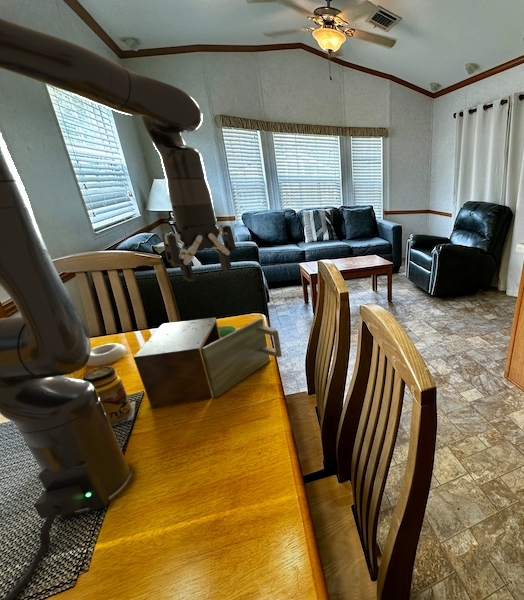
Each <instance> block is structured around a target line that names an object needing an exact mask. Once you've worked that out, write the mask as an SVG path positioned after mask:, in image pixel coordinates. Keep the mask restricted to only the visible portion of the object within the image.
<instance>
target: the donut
mask: <svg viewBox="0 0 524 600" xmlns="http://www.w3.org/2000/svg"><path fill="white" fill-rule="evenodd" d="M126 352H127V348H126V346H125V345H124V344H121V343H115V342H114V343H106V344H101V345H97V346H95V347H92V348H91V354H90V358H89V360H88V362H87V364H86V365H85V366H88V367H103V366H107V365H109V364H112V363H114V362H118V361H119V360H120V359H122V358H123V357H124V356H125V354H126Z"/></svg>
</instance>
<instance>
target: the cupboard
mask: <svg viewBox="0 0 524 600" xmlns="http://www.w3.org/2000/svg"><path fill="white" fill-rule="evenodd" d="M218 327H219V325H218V321H217V317H208V318H207V317H206V318H199V319H189V320H182V321H172V322H171V321H170V322H163V323H161V325H160V326H159V327H158V328H157V329H156V331H155V332H153V334H152V335H151V336H150V337H149V339H148V340H147V341H146V342H145V343H144V344H143V345H142V347H141V348H140V349H139V350H138V351H137V352H136V353H135V354H134V355H133V360H134V363H135V366H136V368H137V372H138V374H139V377H140V380H141V383H142V386H143V388H144V391H145V395H146V397H147V399H148V402H149V405H150V408H151V409H152V408H158V407H165V406H170V405H175V404H182V403H186V402H193V401H199V400H200V401H201V400H205V399H210V398H213V396H214V394H213V390H212V386H211V383H210V379H209V375H208V371H207V368H206V364H205V360H204V356H203V352H202V349H201V348H203V347H205V346H207V345H209V344H211V343H212V342H214V341H216V340H218V339H220V338H221V337H220V333H219V329H218Z"/></svg>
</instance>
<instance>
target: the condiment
mask: <svg viewBox="0 0 524 600" xmlns="http://www.w3.org/2000/svg"><path fill="white" fill-rule="evenodd" d="M82 380H85V381H88V382H90V383H91V384H92V385H93V386H94V387H95V389H96V391H97V393H98V396H99V398H100V401H101V403H102V405H103V408H104V410H105V413H106V415H107V417H108V420H109V422H110V424H111V427H113V426H116V425H119V424H122V423H125V422H127V421H128V422H129V421H132V420H133V419H134V416H135V412H136V411H135V410H136V401H137V400H135V401H130V399H129V396H128V394H127V391H126V389H125V386H124V384H123V380H122V378H121V376H119V375H118V373H117V372H116V368H114V367H113V366H108V365H104V366H98V367H96V368H94V369H91V370H89V371H88V372H86V373H85V374H83V377H82ZM126 419H127V420H126Z"/></svg>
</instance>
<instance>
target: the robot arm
mask: <svg viewBox="0 0 524 600" xmlns="http://www.w3.org/2000/svg"><path fill="white" fill-rule="evenodd" d="M0 69H2V70H5V71H7V72H11V73H13V74H17V75H20V76H23V77H25V78H29V79H31V80H34V81H37V82H40V83H43V84H45V85H48V86H50V87H53V88H56V89H59V90H61V91H64V92H66V93H69V94H71V95H75V96H76V97H79V98H82V99H84V100H86V101H89V102H92V103H94V104H97V105H100V106H101V107H105V108H106V109H109V110H113V111H115V112H118V113H121V114H125V115H130V116H140V118H141V120H142V123H143V126H144V128H145V130H146V132H147V134H148V136H149V138H150V140H151V142H152V144H153V146H154V147H155V150H157V152H158V155H159V156H160V159H161V164H162V168H163V172H164V176H165V179H166V180H165V181H166V188H167V194H168V198H169V202H170V207H171V210H172V213H173V217H174V221H175V225H176V226H177V229H178V230H177V233H163V234H162V237H161V238H162V242H163V247H164V252H165V257H166V261H167V262H168V263H169V264H175V265H178V266H179V268H180V272H181V276H182V278H183V280H186V281H187V282H190V283H191V282H195V280H196V279H195V275H194V270H193V266H192V264H191V260H192V259H193V256H195V255H196V253H197V252H201V251H204V250H206V249H207V250H210V249H213V250H215V252H217V253H218V258H219V263H220V267H221V270H222V271H224V272H230V271H231V268H232V262H231V258H230V254H231V253H232V252H236V250H237V246H236V243H235V239H234V234H233V230H232V227H231V225H227V224H220V225H219V226H217V217H216V216H217V215H216V212H215V208H214V202H213V198H212V193H211V189H210V186H209V183H208V181H207V175H206V170H205V166H204V162H203V157H202V155H201V153H200V151H199V150H198V149H196V148H194V147H191V146H188V145H187V144H186V142H185V140H184V138H183V136H182V133H183V134H184V133H191V132H194V131H196V130H198V129H199V128H200V127H201V126H202V124H203V123H202V122H203V112H202V110H201V107H200V106H199V104H198V103H197V102H196V100H195V98H193V97H192V96H191V95H190V94H188V93H187V92H186V91H185V90H182V89H181V88H179V87H177V86H175V85H172V84H170V83H167V82H164V81H161V80H157V79H155V78H153V77H150V76H147V75H143V74H140V73H138V72H137V73H136V72H134V71H132V70H130V69H129V68H126V67H124V66H123V65H120V64H118V63H117V62H116V61H113V60H111V59H109V58H107V57H105V56H104V55H101V54H99V53H98V52H95V51H93V50H91V49H89V48H87V47H85V46H82V45H79V44H77V43H75V42H72V41H69V40H66V39H63V38H62V37H61V38H60V37H58V36H55V35H52V34H48V33H45V32H42V31H39V30H37V29H33V28H30V27H27V26H24V25H21V24H18V23H15V22H12V21H9V20H6V19H4V18H2V17H0ZM219 235H220V236H221V238H222V239H221V240H222V242H221V240H219V239H218V237H219ZM179 241H181V242H182V245H181V247H180V250H179V249H178V244H179V243H180V242H179ZM0 287H1V288H2V289H3V290H4V291H5V293H6V294H7V295H8V297H10V299H11V300H12V302H13V303H14V305H15V307H16V308H17V310H18V312H19V314H20V315H21V316H11V317H1V318H0V415H1V416H2V417H4V418H5V419H6V420H8V421H11V422H12V423H14V424H15V426H16V428H17V430H18V431H19V433H20V434H21V436H22V439H23V440H24V442H25V443H26V446H27V448H28V449H29V451H30V453H31V454H32V456H33V458H34V460H35V462H36V464H37V466H38V467H39V469H40V470H41V471H40V472H39V473H38V474H37V478H38V479H39V481H40V483H41V485H42V487H43V488H44V490H43V492H42V494H40V496H39V497H38V498H37V499H36V501H35V502H34V504H33V507H34V508H35V510H36V512H37V513H38V515H39V517H40V519H42V520H44V519H45V521H44V523H43V525H42V528H41V530H40V533H39V542H40V546H39V548H38V550H37V553H36V555H35V557H34V559H33V560H32V563H31V564H30V566H29V568H27V570H26V572H25V573H24V574H23V575H22V577H21V578H20V579H19V581H18V582H17V583H16V584H15V586H14V587H13V588H11V590H10V591H9V592H8V594H6V596H5V597H4V598H3V599H2V600H14V599H15V598H16V597H17V596H18V595H19V594H20V592H21V591H22V589H24V587H25V586H26V585H27V583H28V582H29V580H30V579H31V578H32V576H33V575H34V573H35V572H36V571H35V570H36V569H37V567H38V566H39V564H40V563H41V561H42V560H43V558H44V556H45V554H46V553H47V552H48V551H49V550H48V549H49V547H50V545H51V536H50V533H51V530H52V526H53V524H54V522H55V520H56V518H57V517H58V516H59V517H61V519H63V518H68V517H71V516H75V515H81V514H85V513H89V512H94V511H97V510H102V509H105V508H107V507H108V505H109V503H110V502H111V501H112V500H114V499H115V498H116V497H117V496H119V495H120V494H121V493H122V492H123V491H124V490H125V489H126V488H127V487H128V486H129V483H130V482H131V480H132V476H133V472H132V469H131V467H130V466H129V464H128V461H127V459H126V457H125V454H124V453H123V450H122V448H121V445H120V443H119V441H118V438H117V436H116V434H115V432H114V429H113V426H112V424H110V422H109V420H108V417H107V415H106V413H105V410H104V408H103V405H102V403H101V401H100V398H99V396H98V393H97V391H96V389H95V387H94V386H93V385H92V384H91V383H90V382H88V381H85V380H83V379H80V378H75V377H71V376H70V377H69V376H68V375H71V374H75V373H78V372H80V371H81V370H82V369H84V368H85V367H86V366H87V365H86V364H87V362H88V360H89V358H90V354H91V349H92V346H91V345H92V343H91V338H90V334H89V332H88V329H87V326H86V323H85V321H84V319H83V317H82V316H81V314H80V311H79V310H78V308H77V306H76V304H75V303H74V301H73V299H72V297H71V296H70V294H69V292H68V290H67V288H66V286H65V284H64V282H63V281H62V279H61V277H60V274H59V273H58V271H57V269H56V266H55V264H54V262H53V259H52V258H51V255H50V253H49V251H48V248H47V246H46V243H45V241H44V238H43V236H42V234H41V231H40V228H39V225H38V223H37V220H36V217H35V214H34V212H33V209H32V205H31V203H30V201H29V198H28V195H27V193H26V191H25V187H24V185H23V183H22V181H21V178H20V176H19V174H18V172H17V169H16V167H15V165H14V162H13V160H12V158H11V155H10V153H9V151H8V149H7V145H6V143H5V140H4V138H3V136H2V132H0Z"/></svg>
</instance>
